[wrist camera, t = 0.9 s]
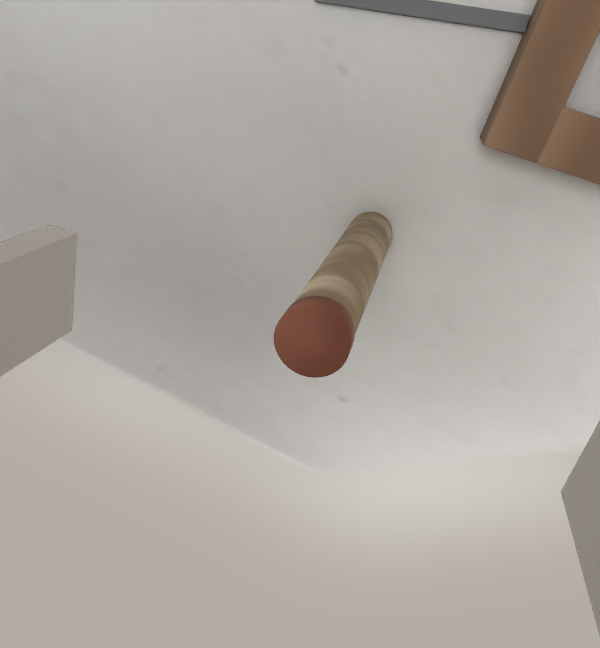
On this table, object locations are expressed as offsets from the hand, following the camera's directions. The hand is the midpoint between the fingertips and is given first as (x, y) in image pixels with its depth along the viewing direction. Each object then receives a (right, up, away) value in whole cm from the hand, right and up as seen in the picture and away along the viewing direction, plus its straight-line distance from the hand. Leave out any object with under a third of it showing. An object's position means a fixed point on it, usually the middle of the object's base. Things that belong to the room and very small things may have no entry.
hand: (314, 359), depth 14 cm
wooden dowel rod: (+4, +6, +18) cm, 19 cm away
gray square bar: (+5, +16, +13) cm, 21 cm away
